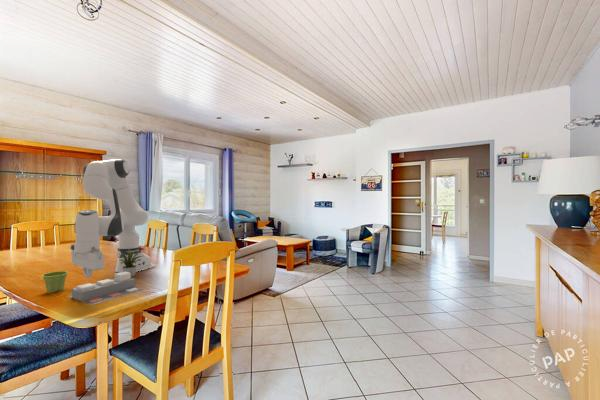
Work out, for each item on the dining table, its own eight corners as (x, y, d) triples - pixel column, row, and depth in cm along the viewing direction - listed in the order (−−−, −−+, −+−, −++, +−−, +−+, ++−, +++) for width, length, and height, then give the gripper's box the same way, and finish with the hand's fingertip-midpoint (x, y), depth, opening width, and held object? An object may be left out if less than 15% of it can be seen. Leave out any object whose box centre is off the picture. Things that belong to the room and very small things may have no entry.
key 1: (89, 294, 129) (89, 283, 129) (95, 296, 127) (95, 285, 127) (76, 297, 125) (76, 286, 124) (82, 299, 122) (82, 288, 122)
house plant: (129, 282, 151) (129, 252, 151) (107, 280, 153) (107, 251, 153) (148, 275, 165) (148, 247, 165) (127, 273, 167) (128, 246, 167)
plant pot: (46, 296, 129) (46, 277, 128) (38, 292, 134) (39, 274, 133) (70, 290, 137) (71, 273, 136) (63, 287, 142) (63, 270, 141)
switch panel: (120, 285, 147) (120, 275, 146) (144, 291, 137) (144, 281, 137) (67, 298, 126) (67, 287, 126) (91, 307, 117) (91, 295, 117)
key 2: (124, 281, 143) (124, 271, 143) (130, 282, 141) (130, 272, 141) (114, 283, 139) (114, 273, 139) (120, 285, 136) (120, 275, 136)
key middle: (107, 289, 136) (108, 278, 136) (113, 290, 134) (113, 280, 134) (96, 292, 132) (96, 281, 132) (102, 294, 129) (102, 283, 129)
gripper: (108, 247, 124) (108, 278, 124) (84, 243, 133) (84, 272, 133) (92, 250, 118) (92, 282, 118) (68, 245, 127) (68, 275, 128)
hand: (88, 277), depth 126 cm, fingers closed
